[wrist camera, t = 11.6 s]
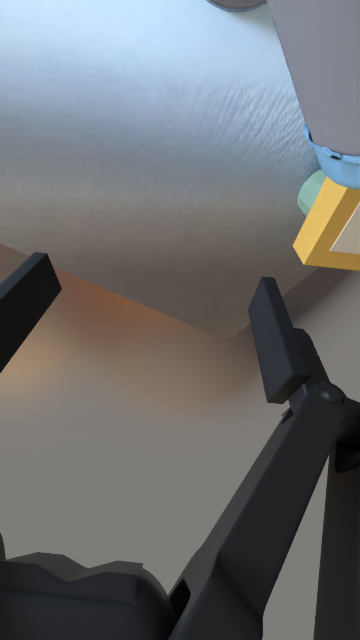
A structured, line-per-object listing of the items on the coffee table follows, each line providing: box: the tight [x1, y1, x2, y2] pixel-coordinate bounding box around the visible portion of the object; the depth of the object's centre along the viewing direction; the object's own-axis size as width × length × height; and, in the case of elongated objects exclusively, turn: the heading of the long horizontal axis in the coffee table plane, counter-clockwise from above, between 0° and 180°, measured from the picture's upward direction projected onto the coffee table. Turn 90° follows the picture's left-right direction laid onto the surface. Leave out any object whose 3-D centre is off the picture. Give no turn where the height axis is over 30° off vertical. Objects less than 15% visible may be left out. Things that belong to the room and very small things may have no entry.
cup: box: [297, 169, 327, 218], centre depth 29 cm, size 10×7×8 cm
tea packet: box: [293, 176, 360, 271], centre depth 26 cm, size 10×8×5 cm
